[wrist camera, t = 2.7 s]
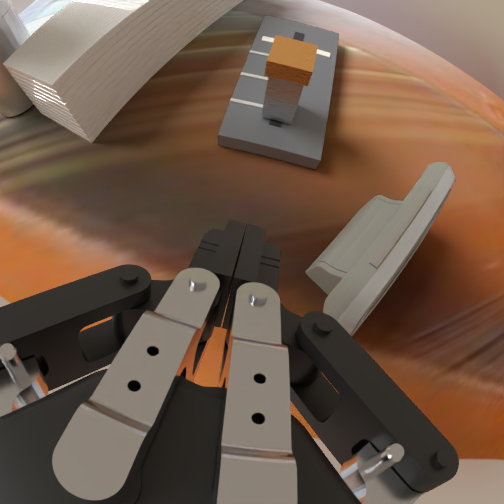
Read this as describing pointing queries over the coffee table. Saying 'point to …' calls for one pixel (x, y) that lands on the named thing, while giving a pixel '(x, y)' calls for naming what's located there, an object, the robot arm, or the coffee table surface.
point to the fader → (287, 77)
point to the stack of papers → (104, 55)
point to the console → (308, 109)
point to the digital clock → (378, 247)
